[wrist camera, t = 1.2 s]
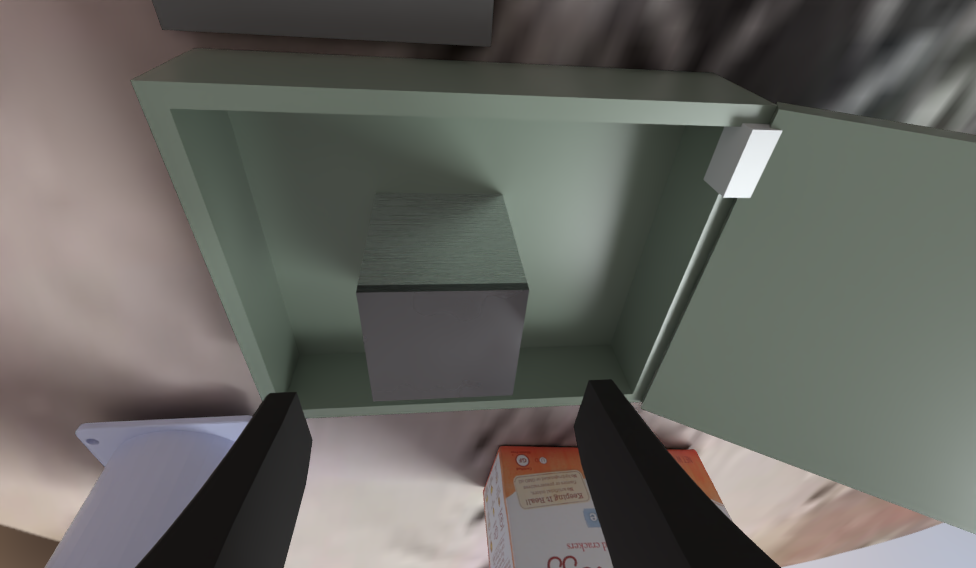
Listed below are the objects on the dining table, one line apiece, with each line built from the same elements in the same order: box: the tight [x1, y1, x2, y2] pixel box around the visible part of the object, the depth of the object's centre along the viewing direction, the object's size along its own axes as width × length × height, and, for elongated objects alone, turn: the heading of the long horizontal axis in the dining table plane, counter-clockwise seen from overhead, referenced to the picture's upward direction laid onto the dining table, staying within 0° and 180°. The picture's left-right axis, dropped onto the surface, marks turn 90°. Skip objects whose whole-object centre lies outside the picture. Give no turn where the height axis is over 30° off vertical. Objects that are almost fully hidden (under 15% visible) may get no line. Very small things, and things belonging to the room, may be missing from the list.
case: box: [130, 48, 976, 534], centre depth 14 cm, size 13×29×11 cm, turn 86°
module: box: [356, 193, 529, 402], centre depth 15 cm, size 4×4×6 cm
